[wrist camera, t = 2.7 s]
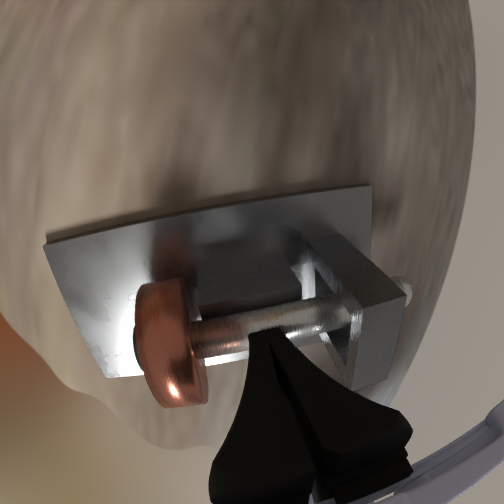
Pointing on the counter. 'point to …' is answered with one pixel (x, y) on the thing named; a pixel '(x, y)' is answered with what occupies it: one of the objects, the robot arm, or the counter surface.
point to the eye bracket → (238, 274)
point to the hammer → (214, 335)
